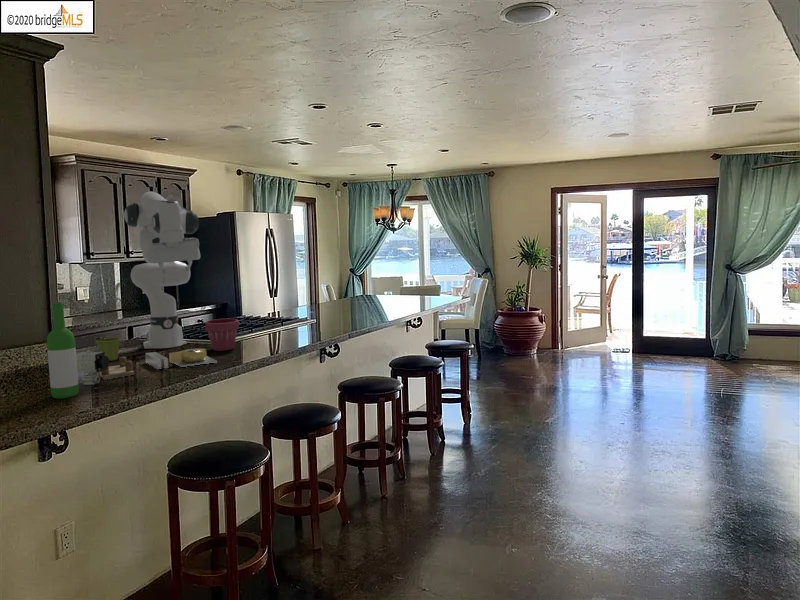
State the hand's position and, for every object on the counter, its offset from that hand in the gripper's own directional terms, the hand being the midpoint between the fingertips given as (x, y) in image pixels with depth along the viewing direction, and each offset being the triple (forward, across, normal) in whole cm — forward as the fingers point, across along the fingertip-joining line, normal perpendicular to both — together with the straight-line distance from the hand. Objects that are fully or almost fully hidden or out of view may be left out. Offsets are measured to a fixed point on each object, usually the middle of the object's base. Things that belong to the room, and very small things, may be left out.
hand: (176, 272), depth 245 cm
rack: (+37, +19, +24) cm, 48 cm away
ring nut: (+36, -4, +11) cm, 38 cm away
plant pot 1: (+34, +32, -4) cm, 46 cm away
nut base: (+37, -6, +10) cm, 39 cm away
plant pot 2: (+35, -12, -20) cm, 42 cm away
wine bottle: (+40, +23, +54) cm, 71 cm away
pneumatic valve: (+38, +22, +40) cm, 59 cm away
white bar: (+36, +8, +12) cm, 39 cm away
